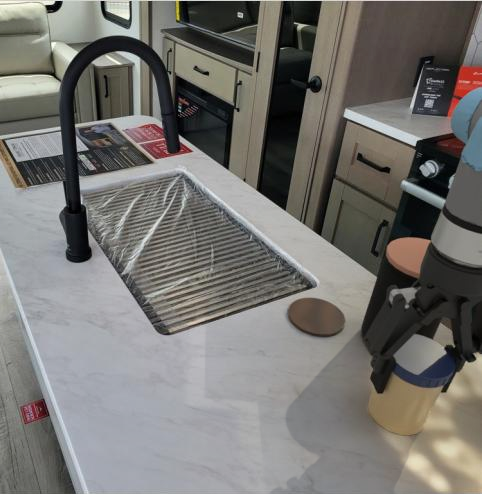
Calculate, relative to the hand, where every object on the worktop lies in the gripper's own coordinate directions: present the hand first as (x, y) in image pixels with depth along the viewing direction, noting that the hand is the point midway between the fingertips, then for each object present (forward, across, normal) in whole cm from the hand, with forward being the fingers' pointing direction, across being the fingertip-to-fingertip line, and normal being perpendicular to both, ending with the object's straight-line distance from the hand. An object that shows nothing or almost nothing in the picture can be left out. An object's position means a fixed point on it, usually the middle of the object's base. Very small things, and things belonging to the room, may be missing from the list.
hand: (407, 385), depth 66 cm
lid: (-6, 0, 0) cm, 6 cm away
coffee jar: (+6, +6, +14) cm, 17 cm away
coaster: (+6, -5, +21) cm, 22 cm away
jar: (+6, 0, 0) cm, 6 cm away
